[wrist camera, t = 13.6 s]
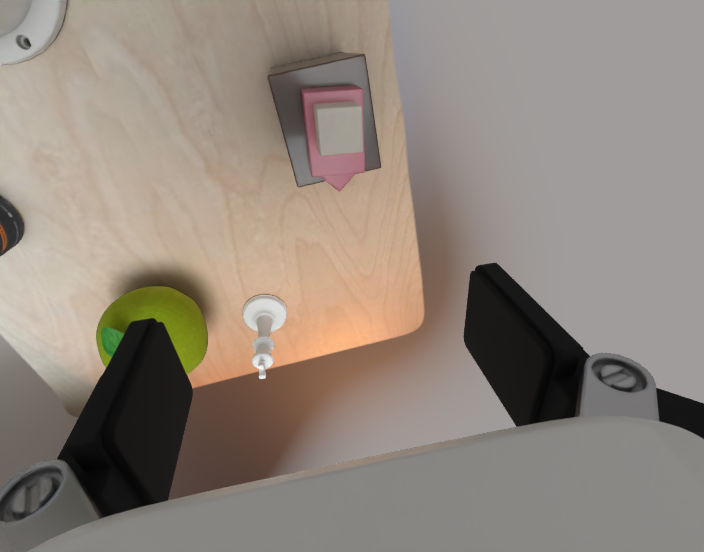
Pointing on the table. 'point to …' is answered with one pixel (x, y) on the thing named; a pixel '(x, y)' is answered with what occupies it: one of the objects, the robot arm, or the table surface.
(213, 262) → the table surface
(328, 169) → the pink and grey toy
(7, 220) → the pill bottle
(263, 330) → the chess piece
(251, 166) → the table surface
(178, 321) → the fruit
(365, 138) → the block
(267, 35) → the table surface
